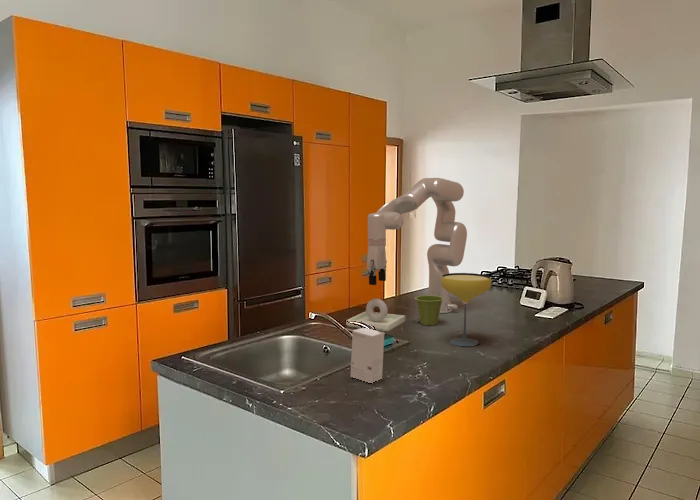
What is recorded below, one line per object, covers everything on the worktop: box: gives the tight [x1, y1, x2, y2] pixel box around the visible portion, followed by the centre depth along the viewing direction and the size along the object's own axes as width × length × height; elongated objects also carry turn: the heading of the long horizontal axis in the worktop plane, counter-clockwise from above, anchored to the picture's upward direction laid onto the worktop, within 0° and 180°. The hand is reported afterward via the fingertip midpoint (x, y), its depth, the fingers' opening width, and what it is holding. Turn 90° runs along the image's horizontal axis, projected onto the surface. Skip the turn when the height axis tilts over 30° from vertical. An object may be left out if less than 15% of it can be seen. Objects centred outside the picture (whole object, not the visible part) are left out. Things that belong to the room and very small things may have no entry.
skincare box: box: [350, 328, 385, 384], centre depth 157 cm, size 8×6×15 cm
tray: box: [345, 310, 406, 332], centre depth 224 cm, size 19×19×2 cm
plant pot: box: [414, 294, 443, 327], centre depth 223 cm, size 12×12×11 cm
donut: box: [365, 298, 389, 322], centre depth 224 cm, size 10×3×10 cm, turn 62°
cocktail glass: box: [441, 272, 492, 347], centre depth 194 cm, size 18×18×25 cm
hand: (377, 282), depth 223 cm, fingers open, 9 cm apart
